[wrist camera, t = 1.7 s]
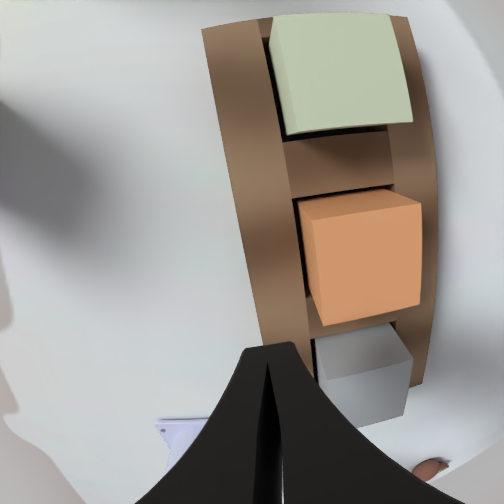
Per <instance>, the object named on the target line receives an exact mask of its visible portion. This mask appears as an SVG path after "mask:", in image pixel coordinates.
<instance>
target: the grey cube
mask: <svg viewBox="0 0 504 504" xmlns="http://www.w3.org/2000/svg"><path fill="white" fill-rule="evenodd" d="M314 346H315V357H316V368H317V380H318V385H319V386H320V387H321V389H322V390H323V392H324V393H325V394H326V395H327V397H328V398H329V399H330V400H331V402H332V403H333V404H334V405H335V406H336V407H337V408H338V410H339V411H340V412H341V413H342V414H343V415H344V416H345V417H346V418H347V419H348V421H349V422H350V423H351V424H352V425H353V426H354V427H355V428H359V427H363V426H367V425H371V424H374V423H378V422H382V421H385V420H389V419H392V418H395V417H399V416H402V415H403V413H404V409H405V404H406V399H407V394H408V389H409V383H410V377H411V371H412V365H413V357H412V356H411V354H410V353H409V351H408V350H407V348H406V347H405V345H404V344H403V342H402V341H401V339H400V338H399V336H398V335H397V333H396V332H395V330H394V329H393V327H392V326H391V324H390V323H389V322H388V323H384V324H380V325H375V326H371V327H367V328H362V329H358V330H353V331H349V332H344V333H339V334H334V335H329V336H324V337H319V338H314Z"/></svg>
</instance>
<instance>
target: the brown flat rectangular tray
mask: <svg viewBox="0 0 504 504" xmlns="http://www.w3.org/2000/svg"><path fill="white" fill-rule="evenodd" d="M389 17H390V20H391V23H392V27H393V30H394V34H395V37H396V41H397V45H398V48H399V52H400V56H401V61H402V65H403V69H404V74H405V78H406V83H407V88H408V93H409V99H410V104H411V110H412V117H413V122H407V123H396V124H387V125H378V126H369V132H367V133H355V134H345V135H336V136H327V137H319V138H311V139H303V140H296V141H289V142H282V138H281V133H280V127H279V122H278V117H277V111H276V106H275V101H274V96H273V91H272V86H271V81H270V76H269V71H268V66H267V62H266V57H265V52H269V49H268V47H269V41H270V35H271V29H272V23H273V17H270V18H262V19H255V20H248V21H241V22H235V23H230V24H224V25H219V26H214V27H209V28H205V29H201V30H202V36H203V41H204V47H205V52H206V57H207V63H208V68H209V73H210V78H211V84H212V89H213V94H214V99H215V105H216V110H217V115H218V120H219V126H220V131H221V136H222V141H223V146H224V151H225V157H226V162H227V167H228V172H229V177H230V182H231V187H232V192H233V197H234V202H235V207H236V213H237V218H238V223H239V228H240V233H241V238H242V243H243V248H244V253H245V258H246V263H247V268H248V273H249V278H250V282H251V287H252V292H253V297H254V302H255V307H256V312H257V317H258V322H259V327H260V332H261V336H262V341H263V346H264V345H270V344H276V343H282V342H287V341H291V342H293V343H295V345H296V348H297V351H298V353H299V355H300V357H301V359H302V361H303V362H304V364H305V366H306V367H307V369H308V371H309V372H310V374H311V375H312V377H313V378H314V379H315V381H316V382H317V383H318V380H317V375H314V374H313V363H312V353H311V343H310V339H314V338H319V337H324V336H329V335H334V334H339V333H344V332H349V331H353V330H358V329H362V328H367V327H371V326H375V325H380V324H384V323H388V322H389V323H390V324H391V326H392V327H393V329H394V330H395V332H396V333H397V335H398V336H399V338H400V339H401V341H402V342H403V344H404V345H405V347H406V348H407V350H408V351H409V353H410V354H411V356H412V357H413V365H412V371H411V377H410V383H409V388H410V387H413V386H416V385H419V384H422V381H423V376H424V371H425V366H426V360H427V354H428V348H429V342H430V335H431V328H432V320H433V312H434V302H435V291H436V278H437V260H438V194H437V176H436V163H435V152H434V143H433V135H432V127H431V120H430V113H429V107H428V101H427V96H426V90H425V85H424V80H423V76H422V71H421V67H420V62H419V58H418V54H417V50H416V46H415V43H414V39H413V35H412V32H411V28H410V25H409V22H408V19H407V17H401V16H390V15H389ZM373 186H376V188H377V189H378V188H384V189H386V190H389V191H392V192H394V193H397V194H399V195H402V196H404V197H407V198H409V199H412V200H414V201H417V202H419V203H421V211H422V270H421V291H420V304H419V305H415V306H411V307H407V308H403V309H399V310H395V311H391V312H387V313H383V314H378V315H374V316H369V317H365V318H360V319H356V320H351V321H346V322H342V323H337V324H332V325H327V326H323V324H322V321H321V319H320V316H319V313H318V310H317V308H316V305H315V302H314V300H313V297H312V294H311V291H310V289H309V286H308V281H307V277H303V275H302V267H301V260H300V252H299V245H298V238H297V231H296V224H295V217H294V211H293V204H292V198H298V197H304V196H311V195H317V194H324V193H330V192H337V191H344V190H351V189H358V188H366V187H373Z"/></svg>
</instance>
